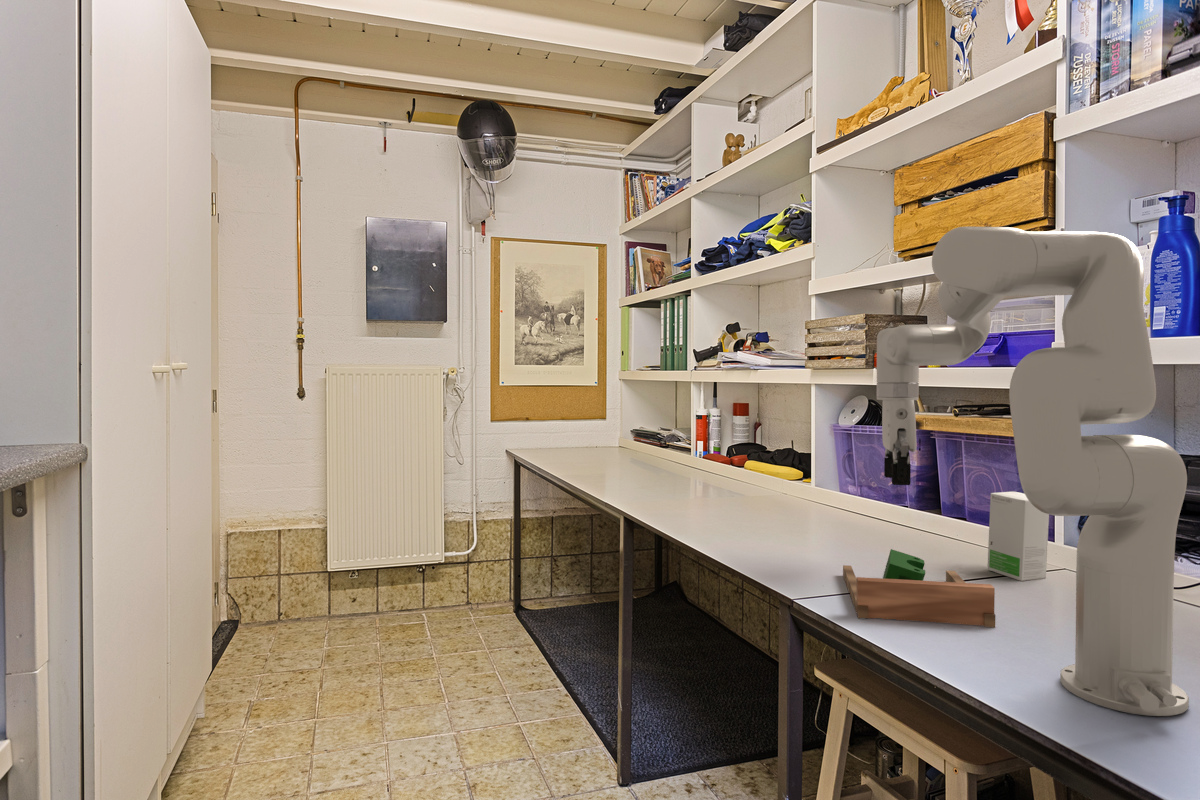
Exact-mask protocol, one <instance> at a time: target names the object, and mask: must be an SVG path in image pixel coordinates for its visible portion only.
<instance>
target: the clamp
mask: <svg viewBox="0 0 1200 800" xmlns="http://www.w3.org/2000/svg"><path fill="white" fill-rule="evenodd" d="M924 567H925V560H923V559H922V558H920V557H918V556H914V555H910V554H908V553H905V552H901V551H899V550H895V549H893V548H890V551H889V555H888V558H887V562H886V565H885V569H884V571H883V574H882V575H883V576H882V578H883V579H901V580H920V581H925V580H924V578H925V576H926V570H925V569H924Z"/></svg>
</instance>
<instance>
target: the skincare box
mask: <svg viewBox="0 0 1200 800" xmlns="http://www.w3.org/2000/svg"><path fill="white" fill-rule="evenodd" d="M989 498H990V499H989V500H990V503H989V522H988V523H989V524H988V525H989V526H988V544H987V545H988V549H987V564H986V565H987V568H986V569H987V570H988V571H990V572H995V573H997V574H999V575H1003V576H1005V577H1008V578H1012V579H1014V580H1017V581H1020V582H1026V580H1027V581H1033V580H1041V579H1046V578H1047V563H1048V562H1047V561H1048V546H1049V545H1048V543H1049V542H1048V540H1049V526H1050V525H1049V524H1050V523H1049V522H1050V514H1046V513H1044V512H1041V511H1039V510H1038V509H1037V508H1035V507H1034V506H1033V505H1032V504H1031V503H1030V502H1029V500H1028V499H1027V497H1026V495H1025V493H1024V492H1017V491H1001V492H990V497H989Z"/></svg>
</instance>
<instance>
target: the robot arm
mask: <svg viewBox="0 0 1200 800" xmlns="http://www.w3.org/2000/svg"><path fill="white" fill-rule="evenodd" d="M931 268H932V270H933V274H934V276H935V277H936V278H937V279H938V280H939V281H940V282H942V283H941V284H940V286H939V288H938V289H937V296H936V297H937V300H938V301H937V302H938V304H939V306H940V309H941V310H942V311H943V312H944V314H946V315H947V316H948V318H951V319H952V320H954V321H955V322H953V323H951V324H944V323H943V324H942V323H940V324H939V323H937V324H933V323H931V324H927V323H925V324H902V325H901V324H900V325H897V326H896V327H894V328H893V327H892V328H891V327H890V328H884V329H882V330H879V332H878V333H877V336H876V400H878V401H882V407H881V409H882V410H881V413H882V414H881V417H882V418H881V419H882V421H881V422H882V423H881V425H882V426H881V431H882V432H881V433H882V435H881V436H882V438H881V439H882V446H883V447H884V448H885V450H884V451H885V452H884V458H883V459H884V460H883V461H884V463H883V464H884V465H883V469H884V470H883V474H884V477H885V478H887V479H889V478H890V479H891V484H892V485H893V486H911V479H912V478H911V477H912V476H911V473H912V472H911V471H912V470H911V466H912V465H911V456H910V452H911V453H915V452H916V451H917V450H918V449H917V448H918V447H917V423H916V420H917V418H916V408H915V401H919V395H920V392H919V389H920V387H919V386H920V385H919V384H920V381H919V380H920V379H919V378H920V375H919V373H920V370H919V369H920V367H921V366H922V367H923V366H954V365H958V364H960V363H962V362H964V361H966V360H968V359H969V358H970V357H971V356H972V355H974V353H976V352H977V351H978V350H979V349H980V348H982V346H983V345H985V342H986V340H987V338H988V337H989V333H990V328H991V313H990V312H991V311H992V310H993V309H994V308H995V307H996V306H997V305H998V304H999V303H1001V302H1002V300H1004V298H1005V297H1009V296H1011V297H1012V296H1013V297H1014V296H1015V297H1019V296H1024V297H1025V296H1026V297H1030V296H1032V297H1033V296H1037V297H1040V296H1041V297H1042V296H1070V298H1069V300H1068V302H1067V304H1066V306H1065V309H1064V311H1063V313H1062V319H1061V329H1062V335H1063V340H1064V346H1063V347H1058V346H1057V347H1045V348H1041V349H1040V348H1039V349H1036V350H1033V351H1031V352H1030V353H1027V354H1026V355H1025V356H1024V357H1022V359H1021V360H1020V361H1019V362H1018V363H1017V365H1015V366H1016V367H1015V368H1014V370H1013V373H1012V376H1011V378H1010V383H1009V392H1008V396H1009V397H1008V399H1009V407H1010V409H1009V410H1010V416H1011V425H1012V426H1011V427H1012V431H1013V434H1012V435H1013V441H1014V447H1015V456H1016V462H1017V463H1016V464H1017V470H1018V477H1019V481H1020V485H1021V489H1022V491H1023V493H1024V494H1025V495H1026V497H1027V499H1028V500H1029V502H1030V503H1031V504H1032V505H1033V506H1034V507H1035V508H1037V509H1038V510H1039V511H1041V512H1044V513H1046V514H1049V516H1054V517H1055V516H1057V517H1081V516H1084V517H1085V516H1088V517H1087V519H1086V521H1085V522H1084V524H1083V526H1082V528H1081V531H1080V533H1079V536H1078V539H1077V547H1076V572H1075V573H1076V574H1075V580H1076V581H1075V650H1074V651H1075V654H1074V655H1075V657H1074V660H1075V661H1074V662H1075V663H1074V664H1070V665H1067V666H1064V667H1063V668H1061V670H1060V673H1059V674H1060V676H1059V678H1060V679H1059V680H1060V683H1061V685H1062V686H1063V687H1064V688H1065V689H1066V690H1067V691H1069V692H1070V693H1071V694H1073V695H1074V696H1076V697H1079V698H1081V699H1083V700H1084V701H1087V702H1089V703H1092V704H1094V705H1098V706H1100V707H1103V708H1105V709H1111V710H1114V711H1119V712H1124V713H1128V714H1133V715H1139V716H1140V715H1141V716H1149V717H1152V716H1153V717H1170V716H1178V715H1181V714H1183V713H1185V712H1186V711H1188V708H1189V706H1190V704H1189V702H1190V701H1189V700H1190V699H1189V695H1188V694H1187V692H1186V691H1184V690H1183V689H1182V688H1181V687H1179V686H1178V685H1176V684H1175V683H1173V650H1174V649H1173V648H1174V647H1173V645H1174V644H1173V642H1174V636H1173V635H1174V592H1175V591H1174V589H1175V588H1174V585H1175V584H1174V582H1175V581H1174V580H1175V555H1176V554H1175V553H1176V552H1175V551H1176V540H1177V539H1176V538H1177V530H1178V529H1177V528H1178V523H1179V519H1180V513H1181V510H1182V507H1183V503H1184V500H1185V497H1186V496H1185V495H1186V491H1187V486H1188V485H1187V483H1188V474H1187V469H1186V468H1187V467H1186V464H1185V462H1184V460H1183V458H1182V457H1181V455H1180V453H1179V452H1178V451H1177V450H1176V449H1175V448H1174V447H1172V446H1171V445H1169V443H1167V442H1165V441H1162V440H1160V439H1157V438H1155V437H1151V436H1147V435H1140V434H1093V435H1082V432H1081V431H1082V430H1081V429H1082V428H1081V425H1082V426H1083V425H1110V424H1111V425H1113V424H1114V425H1115V424H1125V423H1131V422H1135V421H1139V420H1141V419H1143V418H1145V417H1146V416H1148V415H1149V414H1150V413H1151V412H1152V410H1153V409H1154V407H1155V405H1156V400H1157V384H1156V383H1157V382H1156V376H1155V375H1156V374H1155V370H1154V363H1153V357H1152V350H1151V343H1150V337H1149V332H1148V331H1149V330H1148V326H1147V321H1146V315H1145V310H1144V309H1145V308H1144V307H1145V306H1144V282H1145V279H1144V278H1145V271H1144V263H1143V258H1142V256H1141V253H1140V251H1139V249H1138V247H1137V246H1136V245H1135V244H1134V242H1133V241H1130V240H1129V239H1128V238H1126V237H1125V236H1122V235H1119V234H1116V233H1112V232H1111V233H1109V232H1103V231H1101V232H1099V231H1084V230H1083V231H1075V230H1073V231H1072V230H1071V231H1070V230H1069V231H1067V230H1063V231H1061V230H1060V231H1059V230H1055V231H1054V230H1051V231H1049V230H1047V231H1043V230H1042V231H1036V230H1035V231H1032V230H1031V231H1027V230H1023V229H1020V228H1017V227H1012V226H1011V227H1009V226H959V227H956V228H952V229H951V230H949V231H947V232H946V233H945V234H943V236H941V238H940V239H939V241H938V242H937V243H936V245H935V247H934V249H933V252H932V257H931Z"/></svg>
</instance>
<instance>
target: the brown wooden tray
mask: <svg viewBox="0 0 1200 800" xmlns="http://www.w3.org/2000/svg"><path fill="white" fill-rule="evenodd" d="M842 576H843V579H844V582H845V584H846V588H847V591H848V590H849V591H848V593H850V594H849V596H850V599H851V598H852V599H851V602H852V601H853V602H852V605H853V604H854V605H853V608H854V607H855V608H854V610H855V613H856V612H857V613H856V616H857V615H858V616H857V618H858V619H861V618H867V619H866V620H869V619H876V618H882V619H881V620H891V619H896V620H895V621H906V620H908V621H910V622H923V623H937V624H939V623H941V624H956V625H968V626H970V625H971V626H982V627H985V628H996V614H995V604H996V603H995V598H996V597H995V594H996V593H995V590H996V589H995V587H994V586H993V584H990V583H977V582H975V583H973V582H965V580H964V579H962V577H961V576H960V575H959V574H958V573H957V572H956V571H955V570H945V581H936V580H933V581H932V580H923V581H920V580H901V579H883V577H882V578H879V577H861V576H856V574H855V572H854V570H853V567H852V565H845V564H842ZM908 621H907V622H908Z"/></svg>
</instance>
